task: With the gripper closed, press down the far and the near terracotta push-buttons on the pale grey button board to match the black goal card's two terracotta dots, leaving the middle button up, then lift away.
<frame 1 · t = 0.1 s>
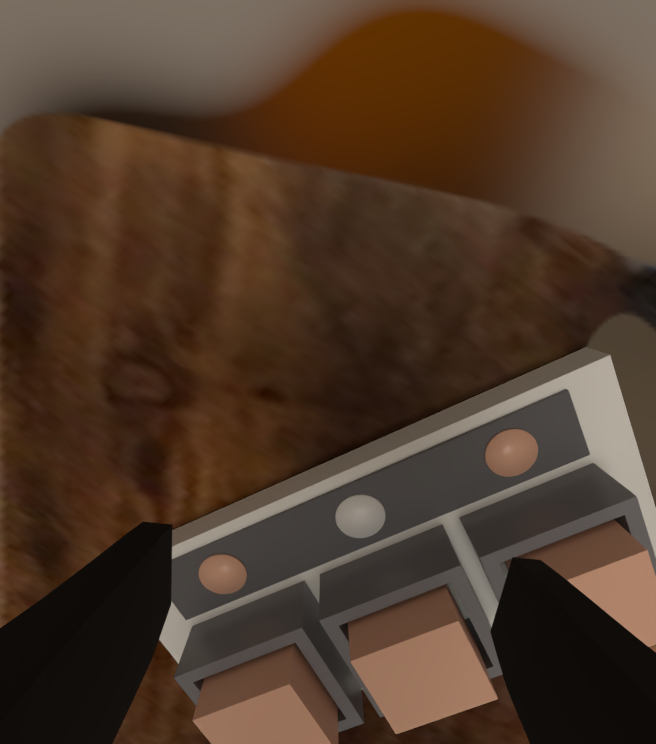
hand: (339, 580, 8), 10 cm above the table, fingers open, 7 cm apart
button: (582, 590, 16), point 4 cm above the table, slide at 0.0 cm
button board: (388, 552, 20), on the table
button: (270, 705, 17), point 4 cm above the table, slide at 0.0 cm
button middle: (418, 651, 17), point 4 cm above the table, slide at 0.0 cm
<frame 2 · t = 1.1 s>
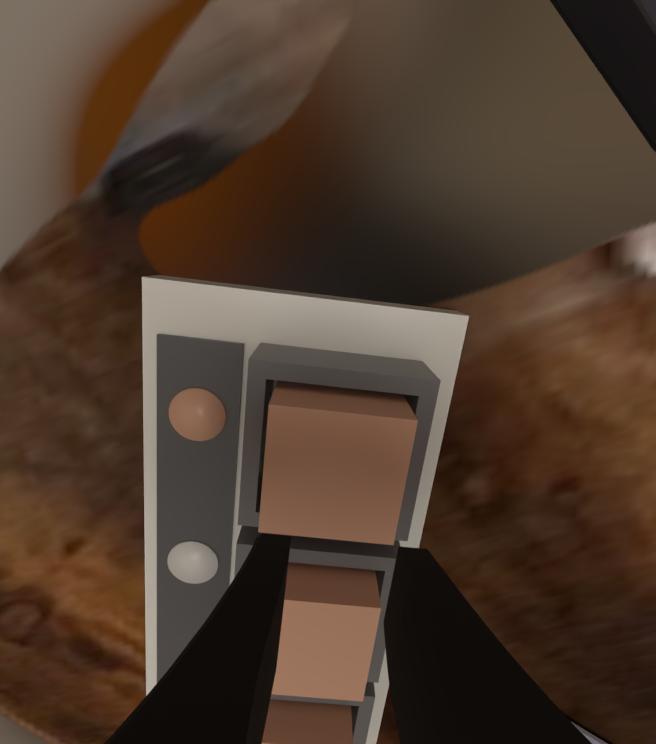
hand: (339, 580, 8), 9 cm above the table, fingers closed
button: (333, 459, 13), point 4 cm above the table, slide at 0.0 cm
button board: (283, 543, 19), on the table
button middle: (311, 622, 15), point 4 cm above the table, slide at 0.0 cm
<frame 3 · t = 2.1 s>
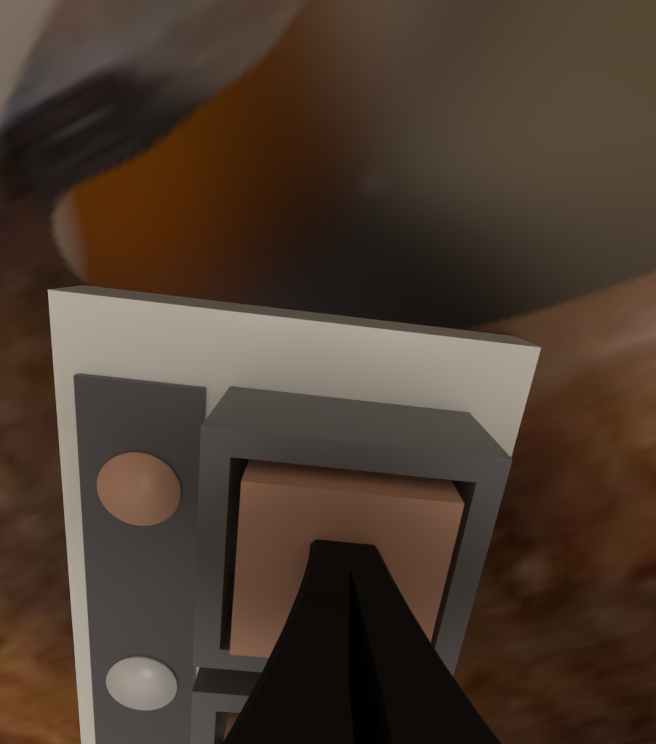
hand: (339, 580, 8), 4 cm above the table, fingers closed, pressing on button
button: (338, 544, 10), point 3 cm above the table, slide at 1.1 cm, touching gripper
button board: (269, 642, 14), on the table
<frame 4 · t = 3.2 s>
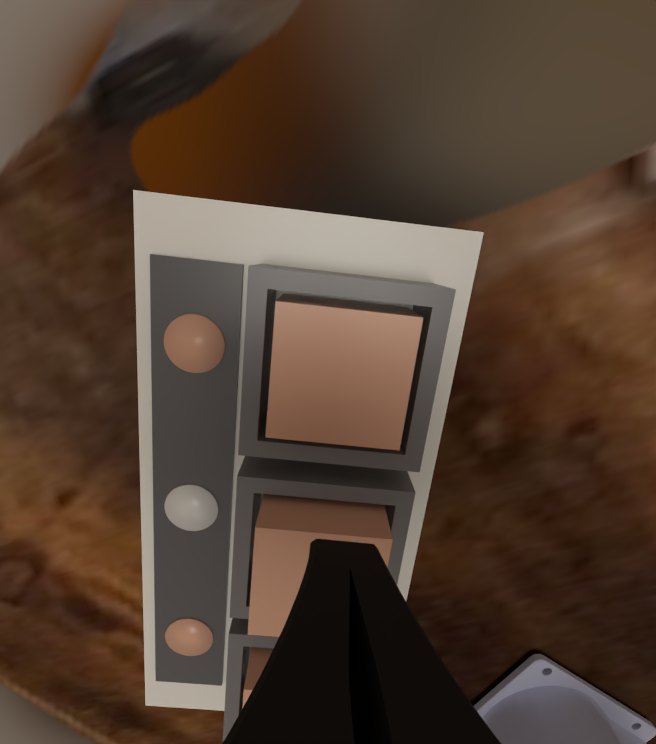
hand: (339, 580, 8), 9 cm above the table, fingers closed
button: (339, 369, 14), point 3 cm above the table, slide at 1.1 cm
button board: (286, 492, 18), on the table
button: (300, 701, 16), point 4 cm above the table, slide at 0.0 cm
button middle: (317, 562, 14), point 4 cm above the table, slide at 0.0 cm
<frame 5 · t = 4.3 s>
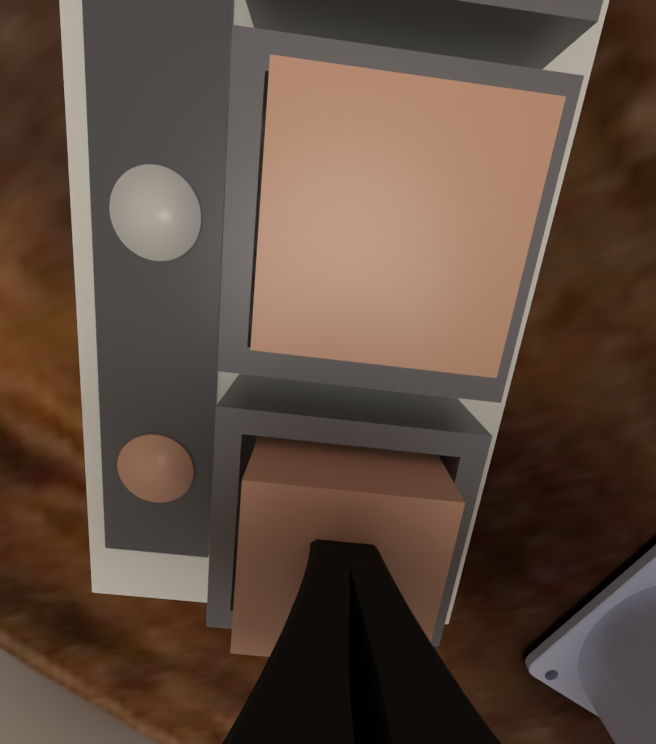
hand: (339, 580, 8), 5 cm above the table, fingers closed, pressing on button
button board: (313, 237, 12), on the table
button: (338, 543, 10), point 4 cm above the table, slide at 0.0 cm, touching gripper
button middle: (384, 236, 8), point 4 cm above the table, slide at 0.0 cm
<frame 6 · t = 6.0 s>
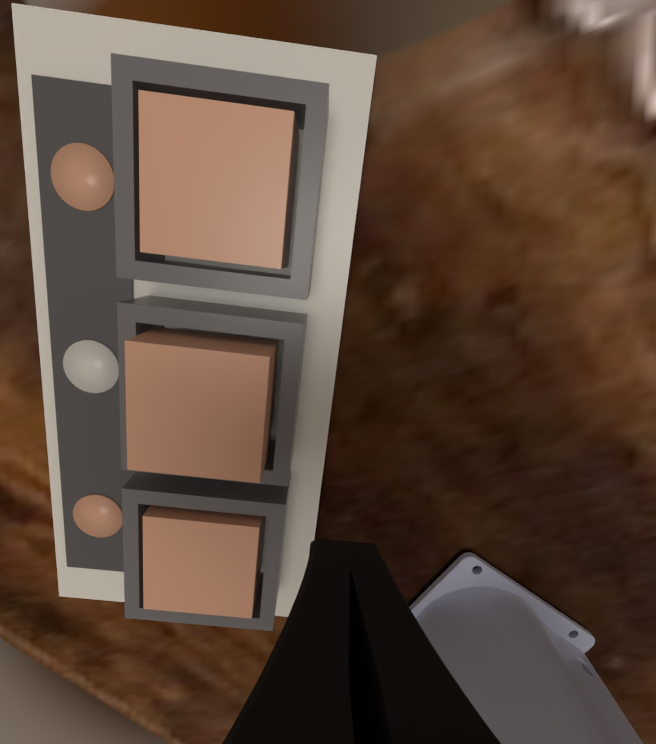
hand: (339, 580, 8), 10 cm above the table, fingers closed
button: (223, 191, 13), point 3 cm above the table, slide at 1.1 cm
button board: (199, 366, 18), on the table
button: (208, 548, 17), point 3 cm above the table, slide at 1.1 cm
button middle: (206, 402, 14), point 4 cm above the table, slide at 0.0 cm
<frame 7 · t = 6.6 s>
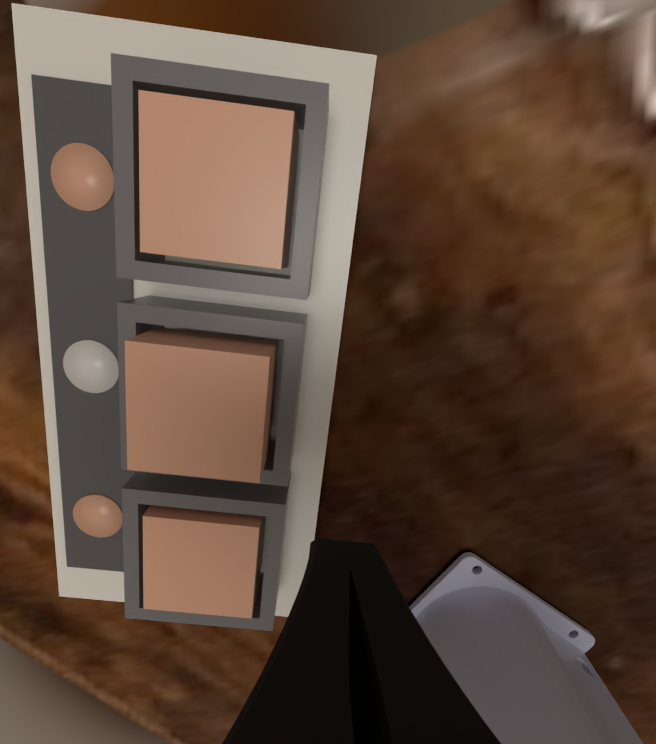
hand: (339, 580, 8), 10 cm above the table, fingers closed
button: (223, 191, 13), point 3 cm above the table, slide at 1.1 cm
button board: (199, 366, 18), on the table
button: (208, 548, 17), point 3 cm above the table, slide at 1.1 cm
button middle: (206, 402, 14), point 4 cm above the table, slide at 0.0 cm
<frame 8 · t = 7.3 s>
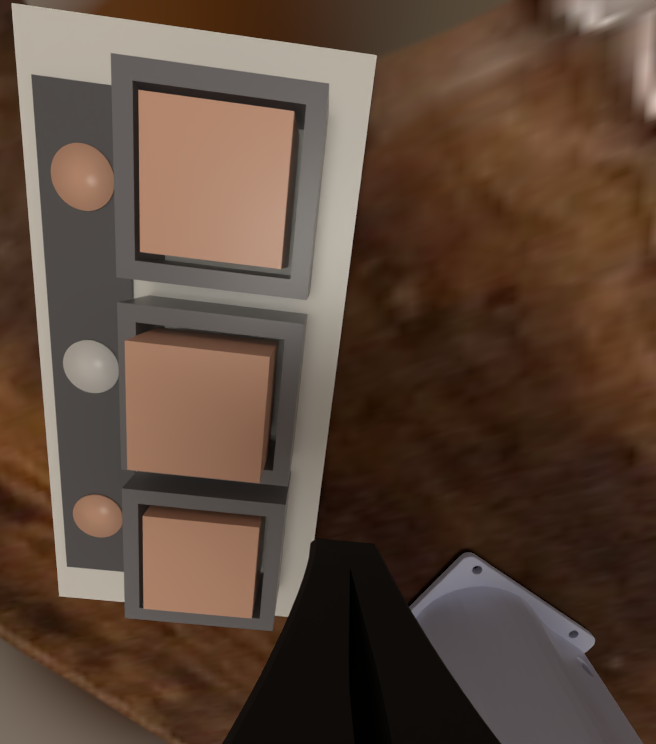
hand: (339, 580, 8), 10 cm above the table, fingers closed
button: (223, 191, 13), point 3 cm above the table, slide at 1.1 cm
button board: (199, 366, 18), on the table
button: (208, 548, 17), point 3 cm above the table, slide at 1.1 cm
button middle: (206, 402, 14), point 4 cm above the table, slide at 0.0 cm
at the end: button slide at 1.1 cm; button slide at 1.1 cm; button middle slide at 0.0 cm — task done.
